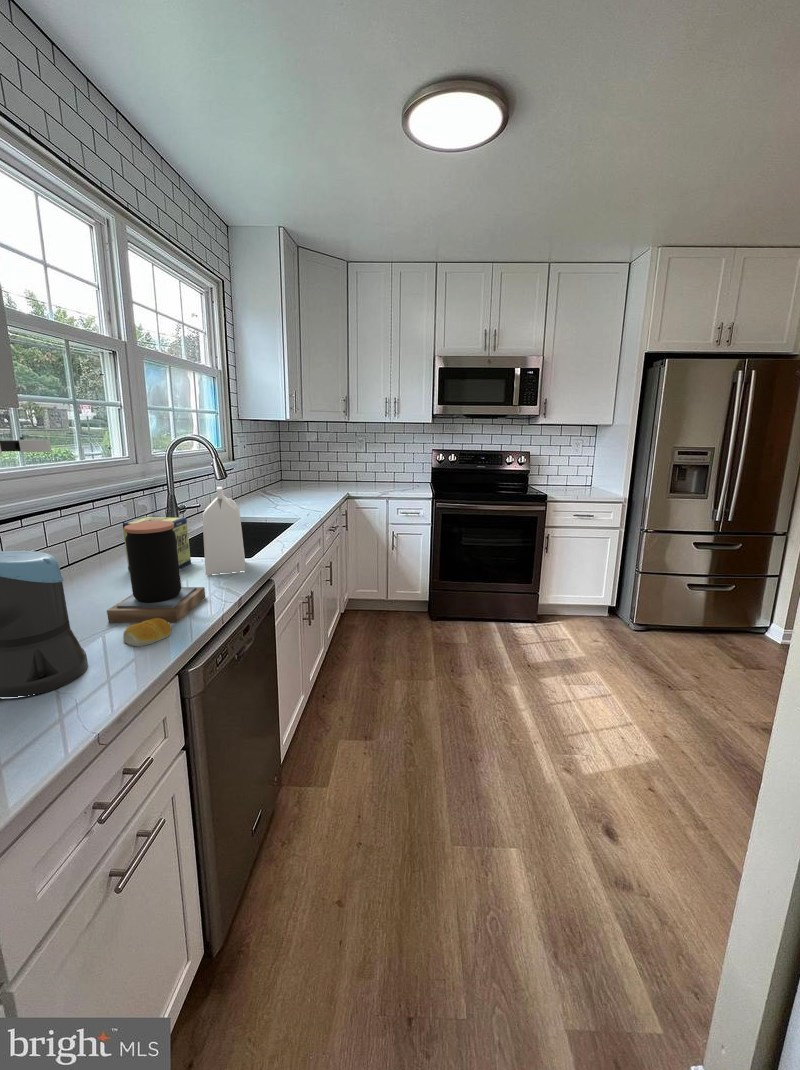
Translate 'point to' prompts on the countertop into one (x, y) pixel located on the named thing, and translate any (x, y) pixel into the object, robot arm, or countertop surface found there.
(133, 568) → the coffee jar
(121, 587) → the countertop surface
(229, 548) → the milk
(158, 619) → the bread roll
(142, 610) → the plinth
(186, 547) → the protein box
